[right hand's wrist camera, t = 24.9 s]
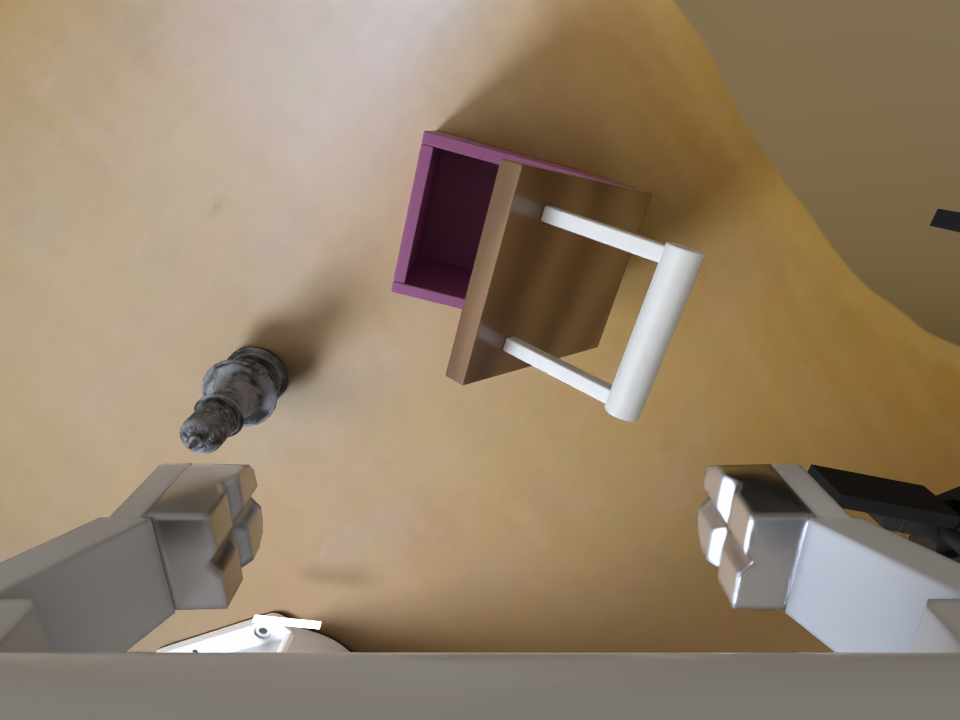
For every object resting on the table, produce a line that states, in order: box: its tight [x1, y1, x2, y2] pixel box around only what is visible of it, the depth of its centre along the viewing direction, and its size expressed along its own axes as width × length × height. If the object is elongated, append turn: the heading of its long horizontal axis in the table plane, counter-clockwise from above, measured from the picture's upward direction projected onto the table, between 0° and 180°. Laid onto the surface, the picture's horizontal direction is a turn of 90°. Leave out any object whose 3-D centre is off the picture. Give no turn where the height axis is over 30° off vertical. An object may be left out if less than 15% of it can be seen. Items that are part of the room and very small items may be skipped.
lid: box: [446, 158, 705, 421], centre depth 28 cm, size 14×10×8 cm
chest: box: [392, 131, 639, 309], centre depth 40 cm, size 13×10×10 cm
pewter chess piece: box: [180, 347, 287, 454], centre depth 43 cm, size 6×6×12 cm
